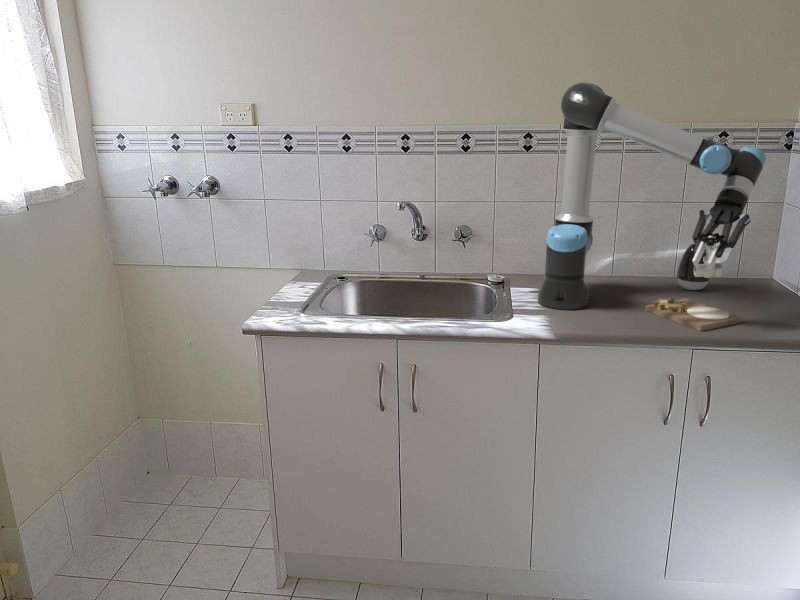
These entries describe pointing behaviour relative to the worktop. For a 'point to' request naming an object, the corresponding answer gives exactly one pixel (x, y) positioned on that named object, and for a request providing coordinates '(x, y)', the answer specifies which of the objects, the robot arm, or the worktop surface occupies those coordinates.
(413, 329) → the worktop surface
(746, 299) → the worktop surface
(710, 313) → the board
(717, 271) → the valve
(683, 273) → the black egg-shaped capsule
